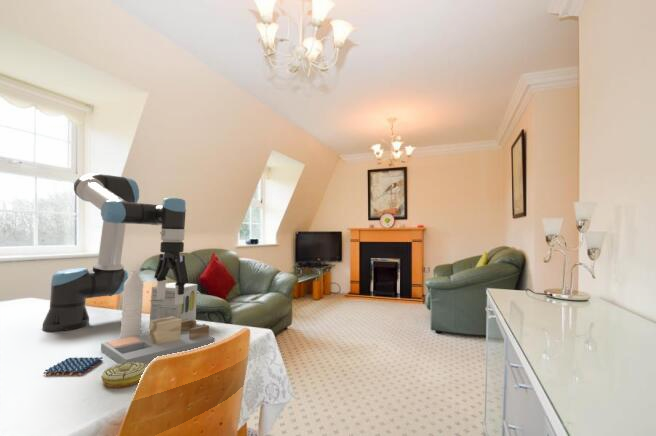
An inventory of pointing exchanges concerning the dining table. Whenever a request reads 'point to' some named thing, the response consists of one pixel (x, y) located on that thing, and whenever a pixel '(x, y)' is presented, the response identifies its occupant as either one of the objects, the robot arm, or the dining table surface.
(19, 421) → the dining table surface
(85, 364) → the woven mat
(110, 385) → the decorated donut
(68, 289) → the robot arm
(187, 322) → the walls
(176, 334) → the block
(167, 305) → the supplement box
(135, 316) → the water bottle
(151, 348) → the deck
